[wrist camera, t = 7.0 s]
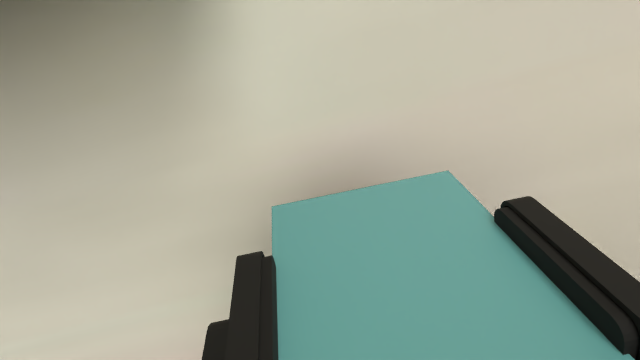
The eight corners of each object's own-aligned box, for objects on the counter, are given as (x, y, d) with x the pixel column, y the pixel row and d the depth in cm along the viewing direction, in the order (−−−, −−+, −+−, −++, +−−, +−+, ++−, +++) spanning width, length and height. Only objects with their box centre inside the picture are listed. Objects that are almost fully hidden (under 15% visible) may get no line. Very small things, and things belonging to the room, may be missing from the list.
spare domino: (448, 170, 12) (1015, 745, 3) (451, 231, 13) (896, 823, 4) (271, 206, 12) (279, 929, 3) (286, 265, 13) (329, 969, 4)
